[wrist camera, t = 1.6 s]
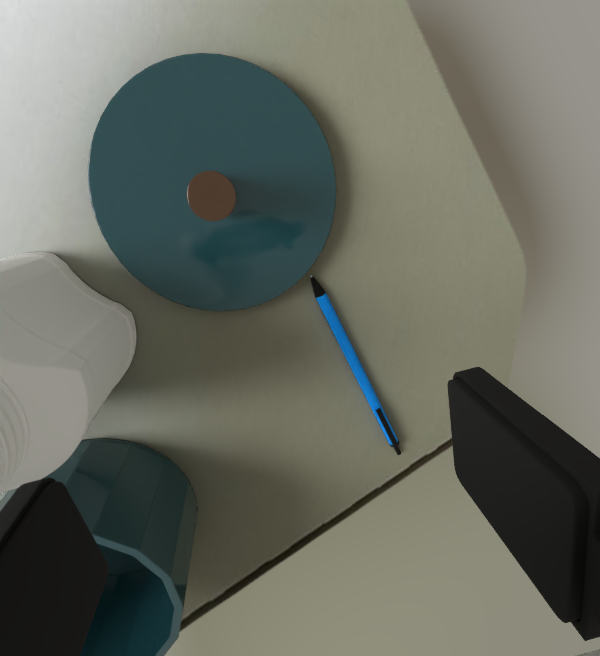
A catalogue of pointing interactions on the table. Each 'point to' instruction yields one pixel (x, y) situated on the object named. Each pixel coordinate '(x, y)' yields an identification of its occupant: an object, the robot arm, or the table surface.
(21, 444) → the jar
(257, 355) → the table surface
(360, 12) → the table surface
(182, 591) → the pot
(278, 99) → the lid
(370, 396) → the pen
